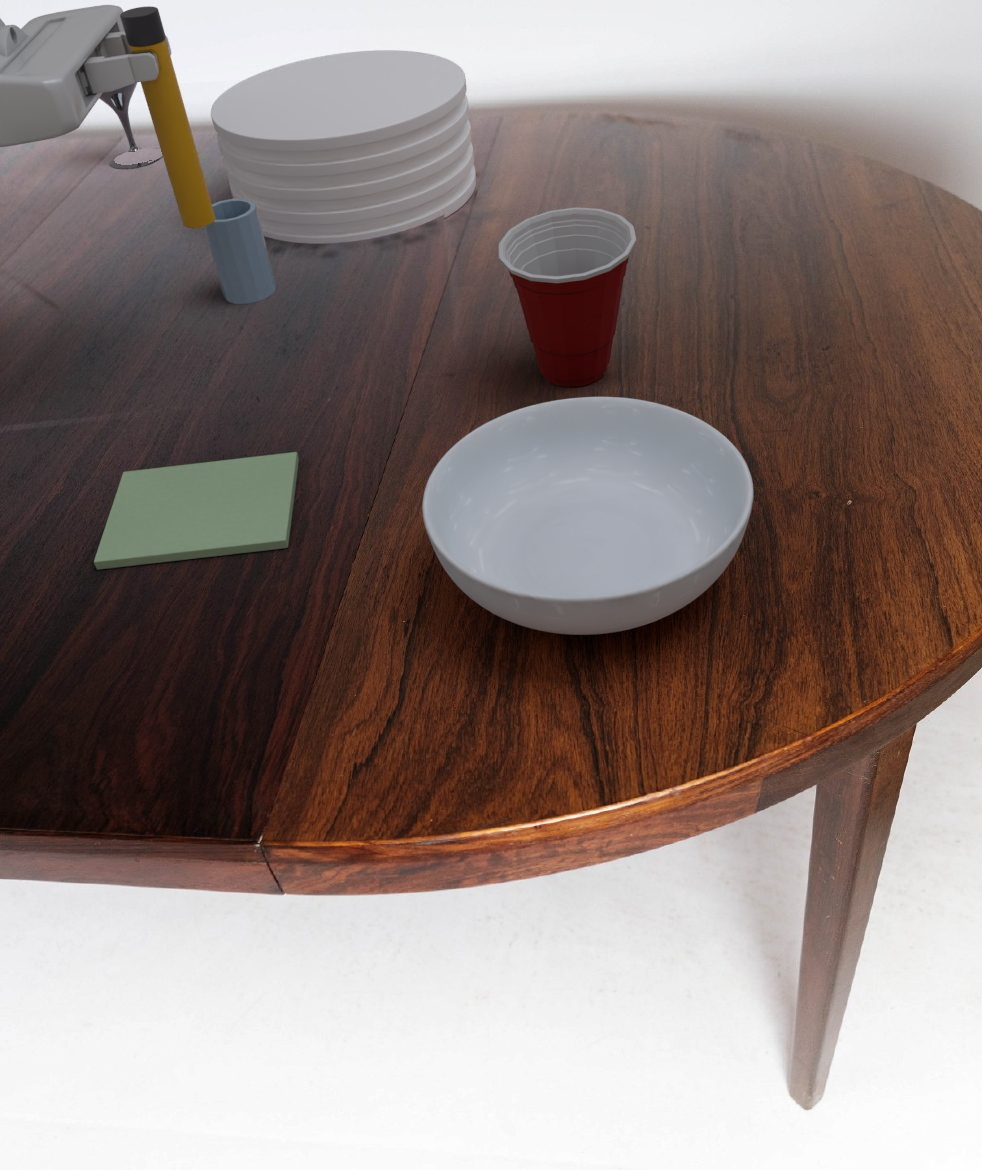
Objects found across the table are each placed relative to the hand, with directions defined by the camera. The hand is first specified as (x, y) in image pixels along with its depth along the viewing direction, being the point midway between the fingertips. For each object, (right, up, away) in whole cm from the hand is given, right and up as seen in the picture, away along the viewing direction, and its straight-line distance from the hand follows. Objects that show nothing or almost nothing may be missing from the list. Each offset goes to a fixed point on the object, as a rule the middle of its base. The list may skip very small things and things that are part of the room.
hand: (162, 55), depth 79 cm
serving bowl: (+31, -39, -8) cm, 51 cm away
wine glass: (-22, +16, +60) cm, 65 cm away
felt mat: (+3, -34, +1) cm, 35 cm away
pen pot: (+1, -11, +27) cm, 29 cm away
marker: (0, -9, +9) cm, 13 cm away
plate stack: (+9, +6, +43) cm, 45 cm away
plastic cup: (+32, -22, +11) cm, 40 cm away
